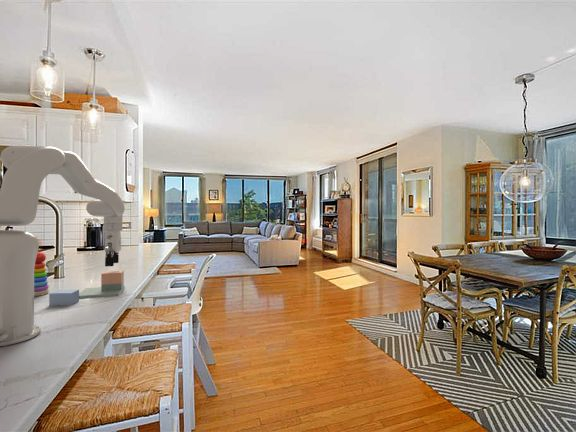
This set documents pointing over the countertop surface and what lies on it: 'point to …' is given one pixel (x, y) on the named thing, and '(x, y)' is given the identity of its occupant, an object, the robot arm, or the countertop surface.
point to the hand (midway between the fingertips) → (112, 264)
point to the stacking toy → (40, 276)
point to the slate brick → (63, 297)
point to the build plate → (103, 291)
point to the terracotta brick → (112, 277)
